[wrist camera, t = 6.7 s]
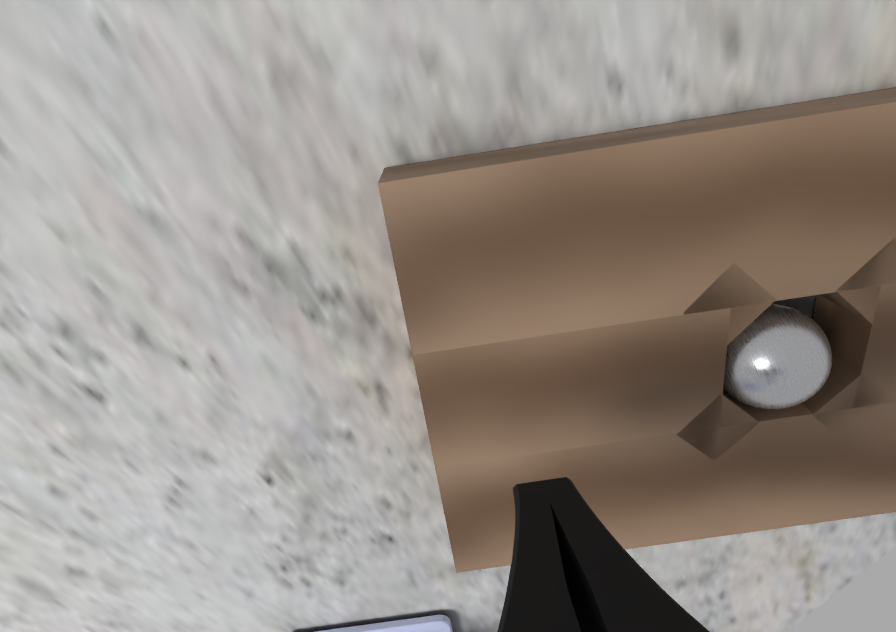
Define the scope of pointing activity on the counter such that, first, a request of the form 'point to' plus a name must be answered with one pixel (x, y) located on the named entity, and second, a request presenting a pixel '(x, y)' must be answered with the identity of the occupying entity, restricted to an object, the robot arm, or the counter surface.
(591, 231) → the walnut plate
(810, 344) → the steel ball
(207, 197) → the counter surface
